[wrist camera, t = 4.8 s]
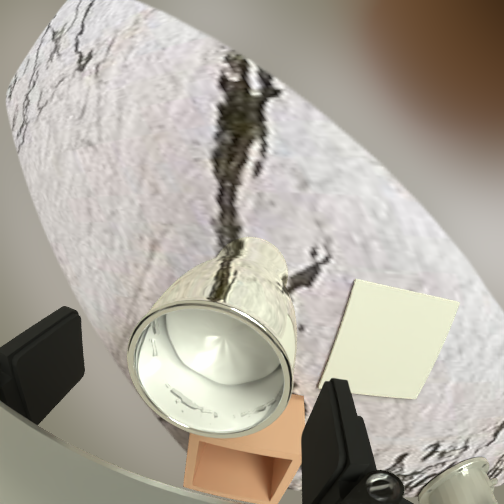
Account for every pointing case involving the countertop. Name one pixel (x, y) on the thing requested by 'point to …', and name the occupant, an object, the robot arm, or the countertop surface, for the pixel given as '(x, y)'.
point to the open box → (249, 460)
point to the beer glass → (220, 344)
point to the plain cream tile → (388, 340)
